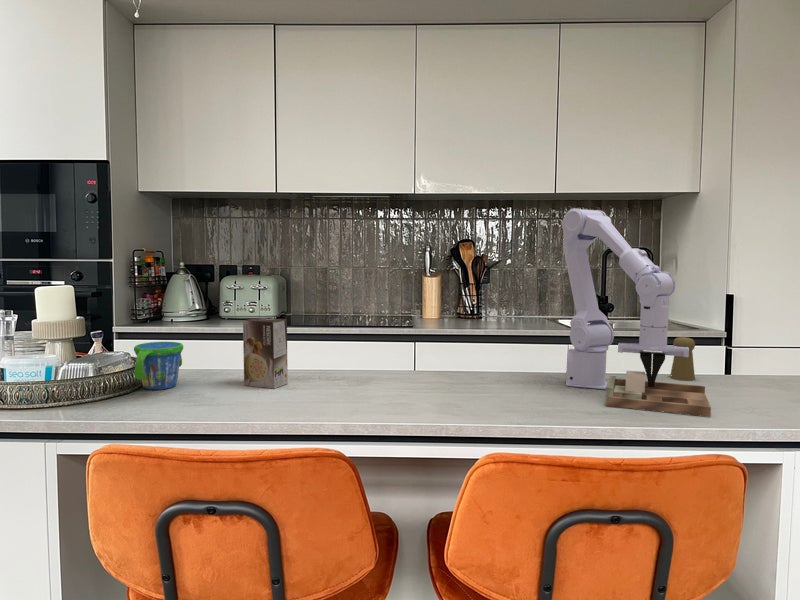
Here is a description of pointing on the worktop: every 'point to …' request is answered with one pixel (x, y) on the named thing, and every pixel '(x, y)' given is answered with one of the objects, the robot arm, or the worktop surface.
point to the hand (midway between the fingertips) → (651, 386)
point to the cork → (683, 361)
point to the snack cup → (158, 364)
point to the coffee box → (265, 352)
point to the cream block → (635, 381)
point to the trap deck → (659, 397)
